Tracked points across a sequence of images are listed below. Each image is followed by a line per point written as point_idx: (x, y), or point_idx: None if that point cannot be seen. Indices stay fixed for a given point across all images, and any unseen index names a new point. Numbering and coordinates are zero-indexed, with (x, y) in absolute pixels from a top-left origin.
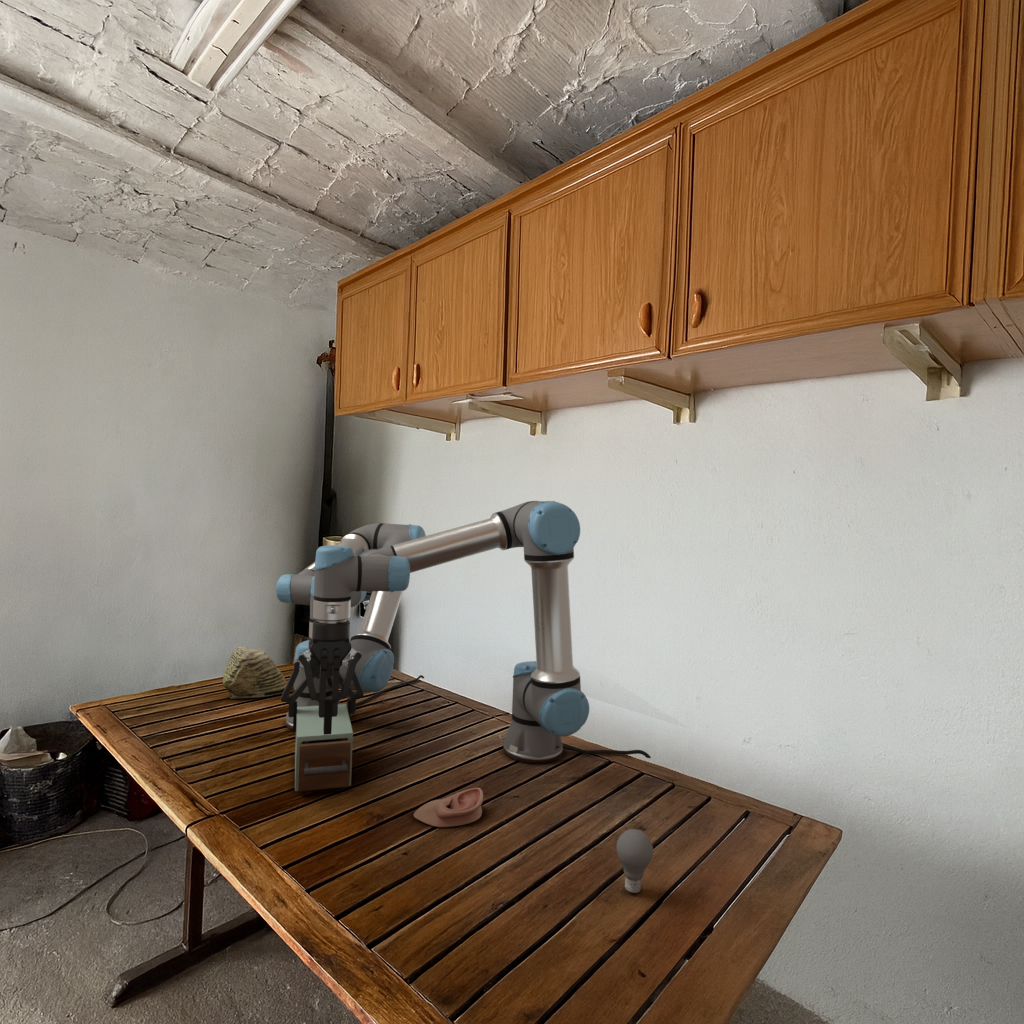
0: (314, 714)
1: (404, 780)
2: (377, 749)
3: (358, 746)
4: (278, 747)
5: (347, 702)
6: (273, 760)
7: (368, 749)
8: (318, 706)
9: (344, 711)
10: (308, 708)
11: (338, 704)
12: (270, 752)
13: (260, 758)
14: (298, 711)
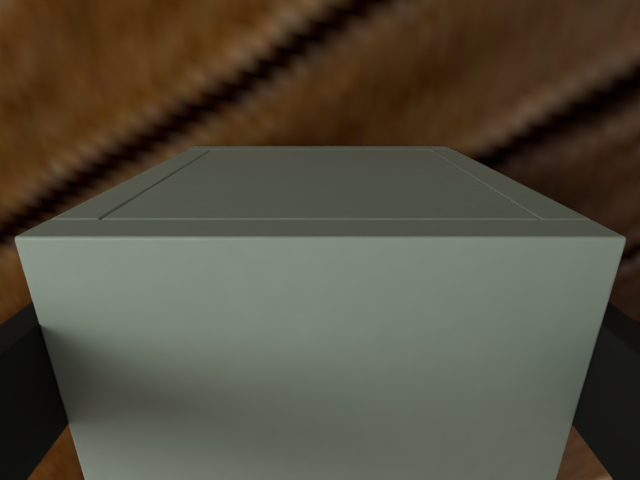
0: (242, 477)
1: (596, 462)
2: (616, 164)
3: (534, 97)
4: (83, 4)
5: (632, 443)
6: (98, 191)
7: (572, 154)
8: (278, 268)
9: (530, 453)
10: (165, 317)
11: (529, 241)
12: (56, 78)
13: (26, 152)
14: (72, 385)
